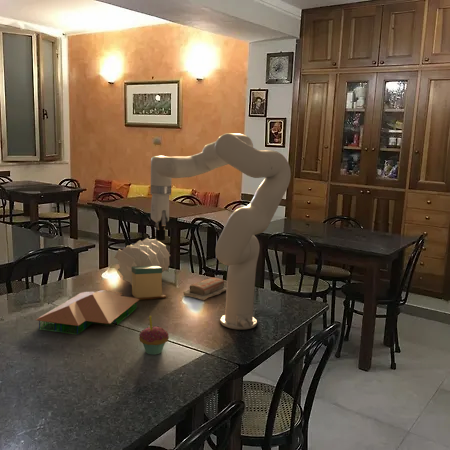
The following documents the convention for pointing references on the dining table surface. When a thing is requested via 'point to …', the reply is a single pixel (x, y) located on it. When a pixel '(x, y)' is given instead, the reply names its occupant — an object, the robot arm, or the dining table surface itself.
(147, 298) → the oak strip
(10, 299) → the dining table surface
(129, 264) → the spiral staircase
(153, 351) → the cupcake
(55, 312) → the house
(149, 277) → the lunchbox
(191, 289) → the packaged product
